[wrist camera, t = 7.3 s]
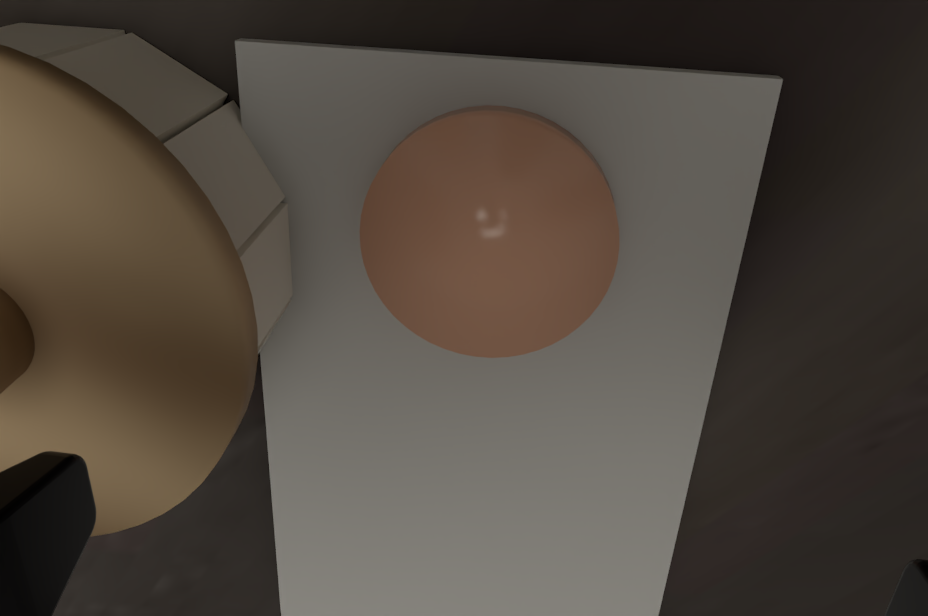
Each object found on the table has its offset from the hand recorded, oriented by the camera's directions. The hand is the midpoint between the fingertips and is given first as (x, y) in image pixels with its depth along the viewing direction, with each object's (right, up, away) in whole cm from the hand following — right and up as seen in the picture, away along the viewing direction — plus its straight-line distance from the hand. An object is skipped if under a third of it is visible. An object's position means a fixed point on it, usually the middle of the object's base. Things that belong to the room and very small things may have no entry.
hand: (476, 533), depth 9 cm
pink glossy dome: (+1, +4, +10) cm, 11 cm away
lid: (-10, +2, +8) cm, 13 cm away
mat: (0, -1, +14) cm, 14 cm away
